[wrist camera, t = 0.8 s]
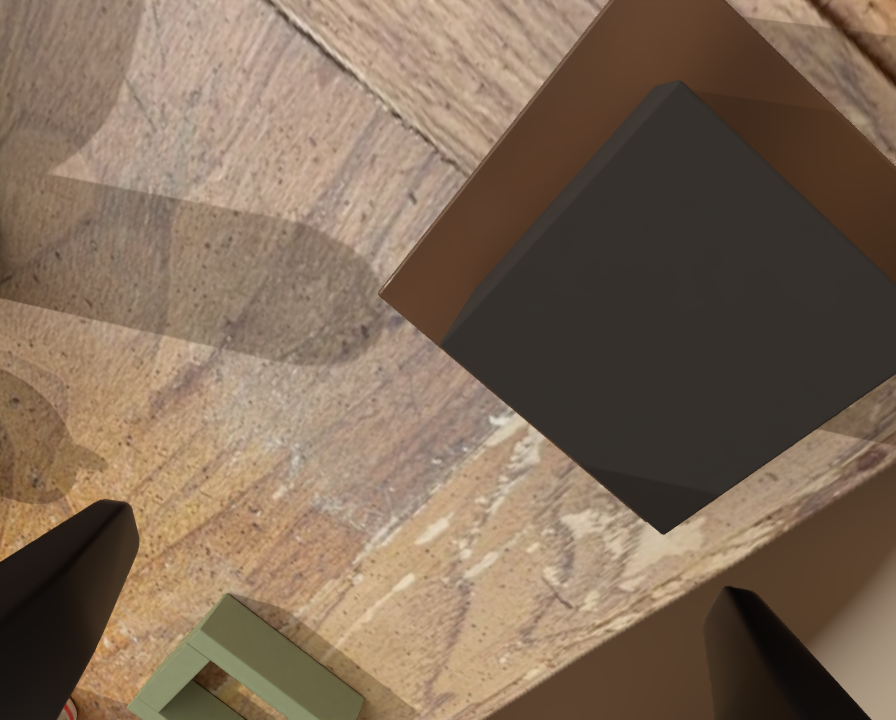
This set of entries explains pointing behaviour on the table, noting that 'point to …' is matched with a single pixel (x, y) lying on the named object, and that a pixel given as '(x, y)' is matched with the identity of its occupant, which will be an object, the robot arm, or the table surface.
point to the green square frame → (243, 673)
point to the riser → (607, 106)
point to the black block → (678, 313)
